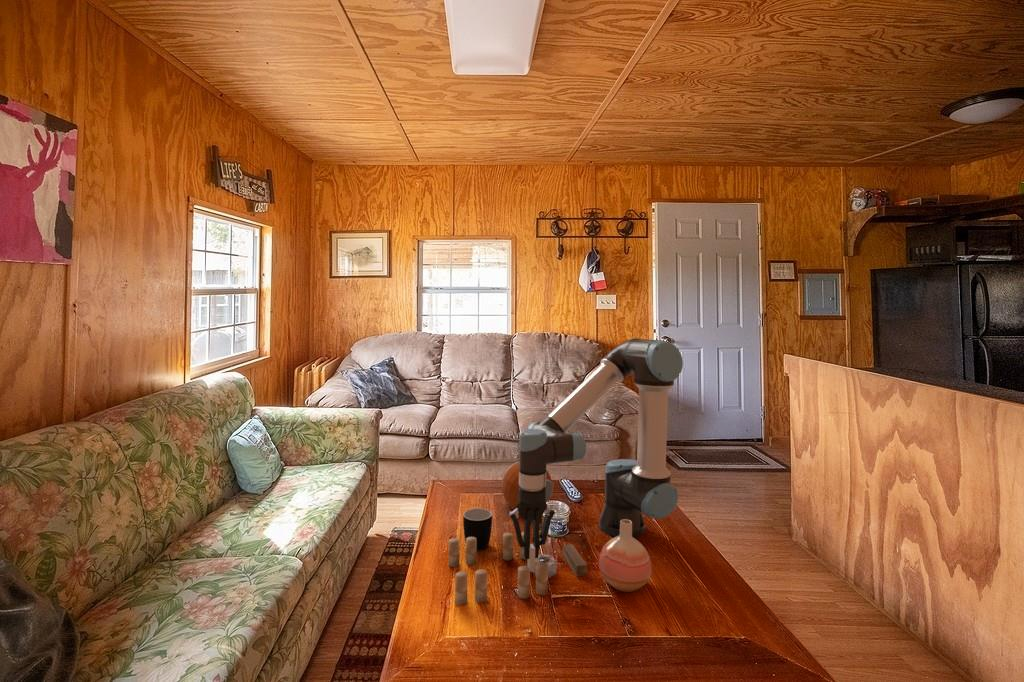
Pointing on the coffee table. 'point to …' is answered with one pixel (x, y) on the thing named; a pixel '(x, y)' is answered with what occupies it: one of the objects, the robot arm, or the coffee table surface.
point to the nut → (547, 560)
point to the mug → (478, 526)
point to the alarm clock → (512, 486)
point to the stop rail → (574, 560)
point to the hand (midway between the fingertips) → (531, 568)
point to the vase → (625, 560)
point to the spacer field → (482, 574)
